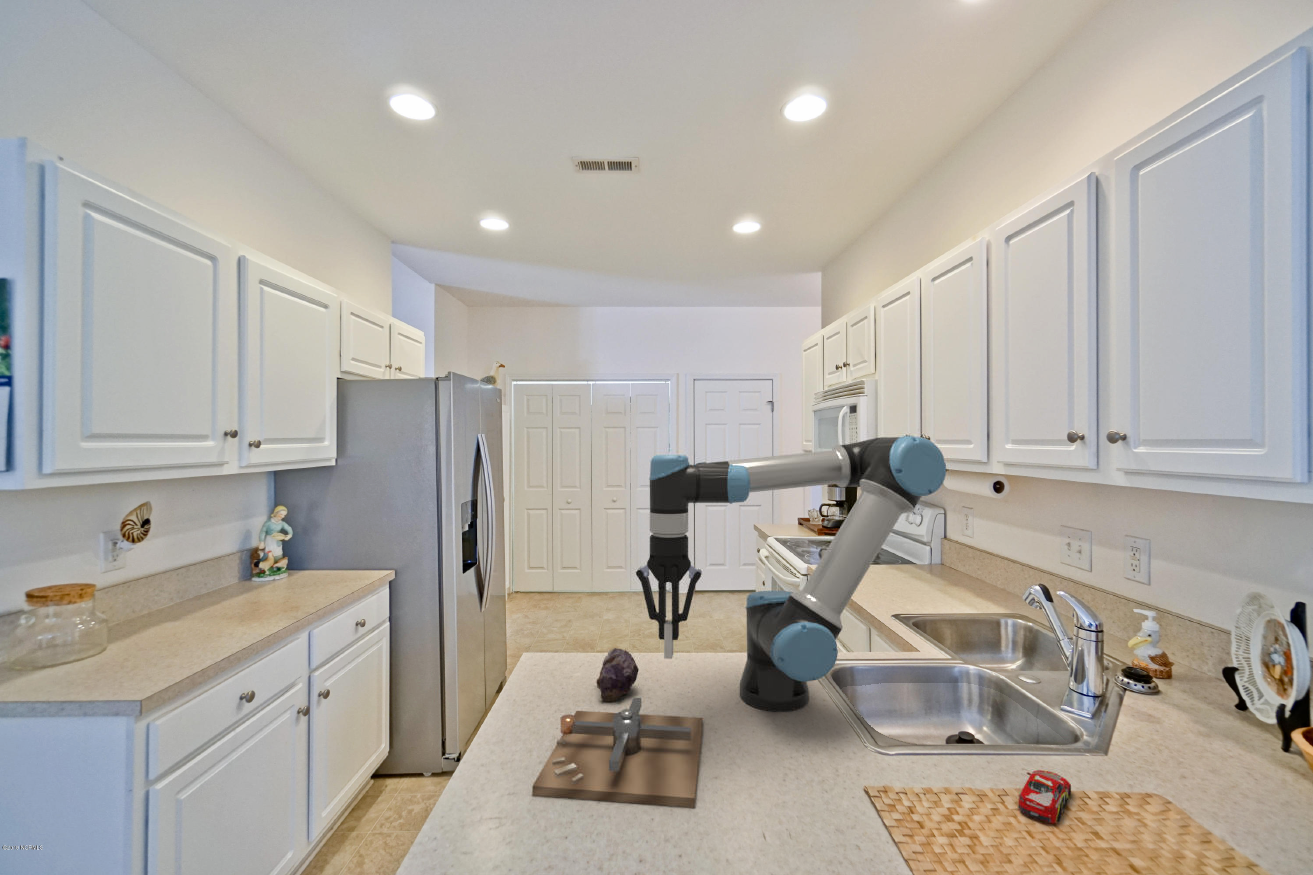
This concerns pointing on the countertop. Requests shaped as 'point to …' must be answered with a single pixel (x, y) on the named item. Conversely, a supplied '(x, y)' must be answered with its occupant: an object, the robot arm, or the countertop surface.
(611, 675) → the rock
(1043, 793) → the race car
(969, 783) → the countertop surface
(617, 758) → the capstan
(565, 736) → the board
